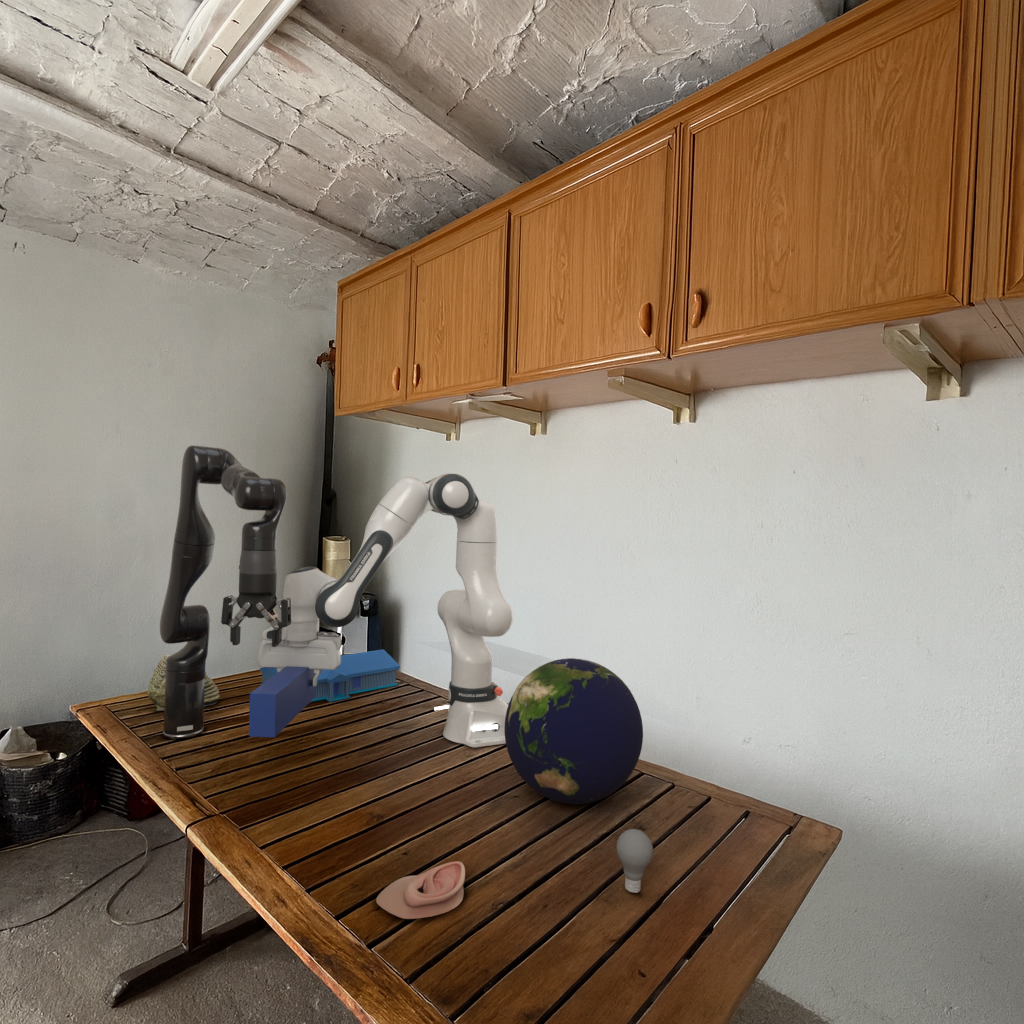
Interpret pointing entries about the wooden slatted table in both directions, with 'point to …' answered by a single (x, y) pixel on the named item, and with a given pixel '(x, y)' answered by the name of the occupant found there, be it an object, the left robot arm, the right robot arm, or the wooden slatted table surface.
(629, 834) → the light bulb
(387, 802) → the wooden slatted table surface
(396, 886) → the anatomical model
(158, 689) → the fossil
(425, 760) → the wooden slatted table surface
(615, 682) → the globe
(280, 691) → the bar
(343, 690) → the model building
